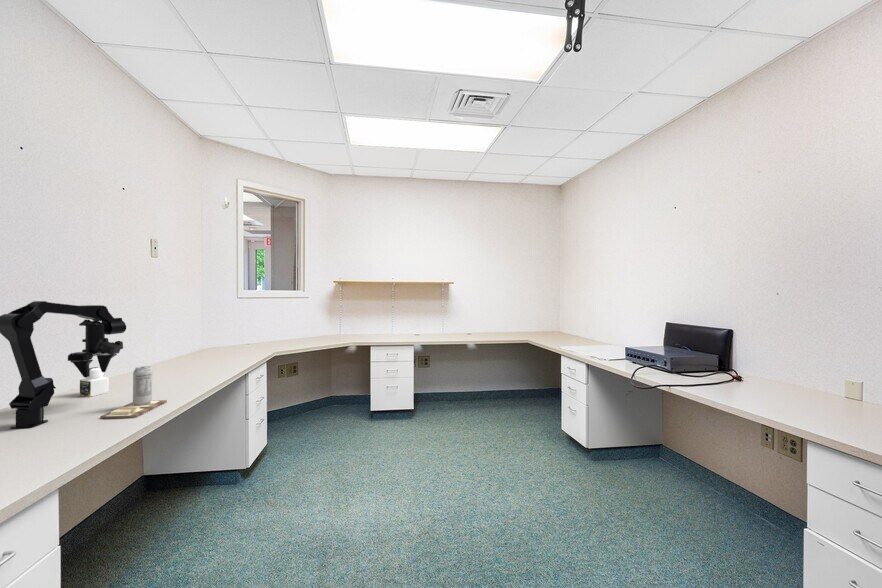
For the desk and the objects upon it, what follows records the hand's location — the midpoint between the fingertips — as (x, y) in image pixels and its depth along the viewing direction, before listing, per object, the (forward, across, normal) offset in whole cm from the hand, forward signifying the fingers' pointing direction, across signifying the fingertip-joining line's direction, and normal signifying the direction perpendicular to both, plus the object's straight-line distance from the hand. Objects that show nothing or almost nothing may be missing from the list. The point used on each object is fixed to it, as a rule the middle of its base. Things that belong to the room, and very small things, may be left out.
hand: (94, 374), depth 147 cm
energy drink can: (+12, -2, -19) cm, 22 cm away
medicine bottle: (+13, +20, +14) cm, 28 cm away
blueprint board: (+13, -6, -19) cm, 24 cm away
